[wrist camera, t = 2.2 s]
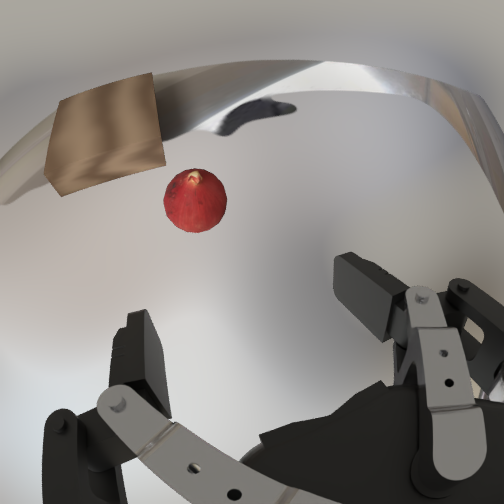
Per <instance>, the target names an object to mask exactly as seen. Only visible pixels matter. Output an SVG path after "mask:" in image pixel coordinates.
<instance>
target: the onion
mask: <svg viewBox="0 0 504 504" xmlns="http://www.w3.org/2000/svg"><path fill="white" fill-rule="evenodd" d="M226 204H227V196H226V193H225V189H224V186H223V184H222V183H221V181H220V180H218V178H217V177H216V176H215V175H214V174H212V173H210V172H208V171H206V170H203V169H195V168H194V169H189V170H185V171H183V172H181V173H179V174H177V175H176V176H175V177H174V178H173V180H172V181H171V182H170V183H169V184H168V186H167V189H166V192H165V196H164V207H165V211H166V215H167V217H168V218H169V219H170V220H171V221H172V222H173V224H174V225H175V226H176V227H178V228H180V229H182V230H184V231H186V232H194V233H199V232H203V231H207V230H210V229H211V228H212V227H214V226H215V225H217V224H218V223H219V222H220V220H221V219H222V217H223V215H224V214H225V210H226Z"/></svg>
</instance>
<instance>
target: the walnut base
mask: <svg viewBox="0 0 504 504" xmlns="http://www.w3.org/2000/svg"><path fill="white" fill-rule="evenodd" d="M162 166H166V161H165V155H164V150H163V144H162V138H161V132H160V126H159V119H158V113H157V106H156V99H155V92H154V84H153V77H152V73H147V74H143V75H139V76H135V77H131V78H127V79H123V80H120V81H116V82H112V83H109V84H106V85H103V86H100V87H96V88H93V89H90V90H88V91H85V92H82V93H79V94H76V95H74V96H71V97H69V98H66V99H64V100H61V101H60V102H59V106H58V109H57V113H56V116H55V120H54V124H53V128H52V132H51V137H50V141H49V146H48V151H47V157H46V163H45V169H44V175H45V176H46V178H47V179H48V180H49V182H50V183H51V184H52V186H53V187H54V188H55V190H56V191H57V192H58V193H59V195H60V196H61V197H63V196H65V195H68V194H71V193H74V192H76V191H79V190H82V189H85V188H88V187H91V186H95V185H98V184H101V183H104V182H107V181H111V180H114V179H117V178H120V177H124V176H127V175H131V174H135V173H139V172H142V171H146V170H150V169H154V168H157V167H162Z"/></svg>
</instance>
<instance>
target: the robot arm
mask: <svg viewBox="0 0 504 504" xmlns="http://www.w3.org/2000/svg"><path fill="white" fill-rule="evenodd" d="M333 289H334V293H335V295H336V297H337V299H338V300H339V301H340V302H341V303H343V305H344V306H345V307H346V308H347V309H348V310H350V312H351V313H352V314H353V315H354V316H356V317H357V318H358V319H359V320H360V321H361V322H362V323H363V324H364V325H365V326H366V327H367V328H368V329H369V330H370V331H371V332H372V333H373V334H374V335H375V336H376V337H377V338H378V339H379V340H380V341H381V342H382V343H383V342H385V341H387V340H389V339H391V338H393V339H394V343H393V359H394V383H393V386H388V387H386V386H385V384H384V383H383V382H382V381H381V380H380V381H378V382H377V383H375V384H373V385H371V386H370V387H368V388H366V389H364V390H362V391H360V392H358V393H357V394H355V395H354V396H353V397H352V398H350V399H349V400H348V401H347V402H346V403H344V404H343V405H342V406H341V407H340V408H339V409H337V410H336V411H335V412H334V413H332V414H331V415H329V416H325V417H320V418H315V419H310V420H305V421H299V422H293V423H290V424H288V425H285V426H282V427H280V428H277V429H274V430H271V431H269V432H265V433H262V434H259V437H260V441H261V443H260V444H258V445H257V446H255V447H254V448H252V449H251V450H250V451H249V452H247V453H246V454H245V455H244V456H243V457H242V458H241V459H240V461H239V462H238V461H236V460H235V459H233V458H231V457H230V456H228V455H226V454H224V453H223V452H221V451H220V450H218V449H217V448H215V447H213V446H212V445H210V444H209V443H207V442H206V441H204V440H202V439H201V438H200V437H198V436H197V435H195V434H194V433H192V432H191V431H189V430H188V429H187V428H185V427H184V426H182V425H181V424H179V423H177V422H174V423H173V422H171V421H170V420H168V419H171V418H172V416H171V410H170V403H169V396H168V389H167V382H166V372H165V363H164V354H163V349H162V344H161V341H160V339H159V337H158V334H157V332H156V330H155V327H154V325H153V323H152V320H151V318H150V316H149V313H148V311H147V310H146V309H144V310H140V311H136V312H132V313H128V316H127V326H126V327H124V328H120V329H119V330H118V332H117V333H116V335H115V337H114V339H113V346H112V349H113V350H112V355H111V357H112V358H111V365H110V375H109V388H108V389H106V390H105V391H104V392H103V393H102V394H101V395H100V397H99V399H98V401H97V407H96V408H94V409H92V410H89V411H87V412H85V413H83V414H80V415H78V416H76V415H75V414H74V413H73V412H72V411H71V410H68V409H59V410H56V411H54V412H53V413H52V414H51V415H50V416H49V417H48V418H47V420H46V423H45V427H44V439H43V455H42V496H43V504H128V503H127V498H126V492H125V487H124V481H123V475H122V469H121V464H122V463H125V462H127V461H129V460H132V459H134V458H136V457H138V459H139V460H140V461H141V462H143V463H144V464H145V465H146V466H147V467H148V468H149V469H150V470H151V471H152V472H153V473H154V474H156V475H157V476H158V477H159V478H160V479H161V480H163V481H164V482H165V483H166V484H167V485H168V486H170V487H171V488H172V489H174V490H175V491H176V492H177V493H178V494H180V495H181V496H183V497H184V498H185V499H186V500H187V501H189V502H190V503H192V504H504V306H502V305H501V304H500V303H499V302H497V301H496V300H495V299H493V298H492V297H490V296H489V295H488V294H486V293H485V292H484V291H482V290H481V289H480V288H478V287H477V286H475V285H474V284H473V283H471V282H470V281H468V280H465V279H460V278H456V279H453V280H451V281H450V282H449V286H448V289H447V291H445V292H440V293H435V292H434V291H433V290H431V289H430V288H427V287H424V286H414V287H411V288H410V287H408V286H407V285H405V284H404V283H403V282H401V281H400V280H398V279H397V278H395V277H394V276H393V275H391V274H389V273H388V272H387V271H386V270H384V269H382V268H381V267H380V266H378V265H377V264H375V263H373V262H371V261H368V260H365V259H362V258H361V257H359V256H358V255H356V254H355V253H353V252H348V253H345V254H342V255H339V256H336V257H335V259H334V281H333ZM467 318H470V319H471V320H472V321H473V322H474V323H476V324H477V325H478V326H479V327H480V328H481V329H482V330H483V332H484V340H483V342H482V344H481V343H480V342H478V341H477V340H476V339H475V338H474V337H473V336H472V335H470V333H468V332H467V331H466V330H465V329H464V326H465V323H466V321H467ZM470 377H471V378H472V379H473V380H474V381H475V382H476V383H477V384H478V385H479V386H480V387H481V389H482V390H483V391H484V392H485V393H486V394H487V395H488V396H489V398H490V400H484V399H478V398H474V395H473V389H472V384H471V379H470Z"/></svg>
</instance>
